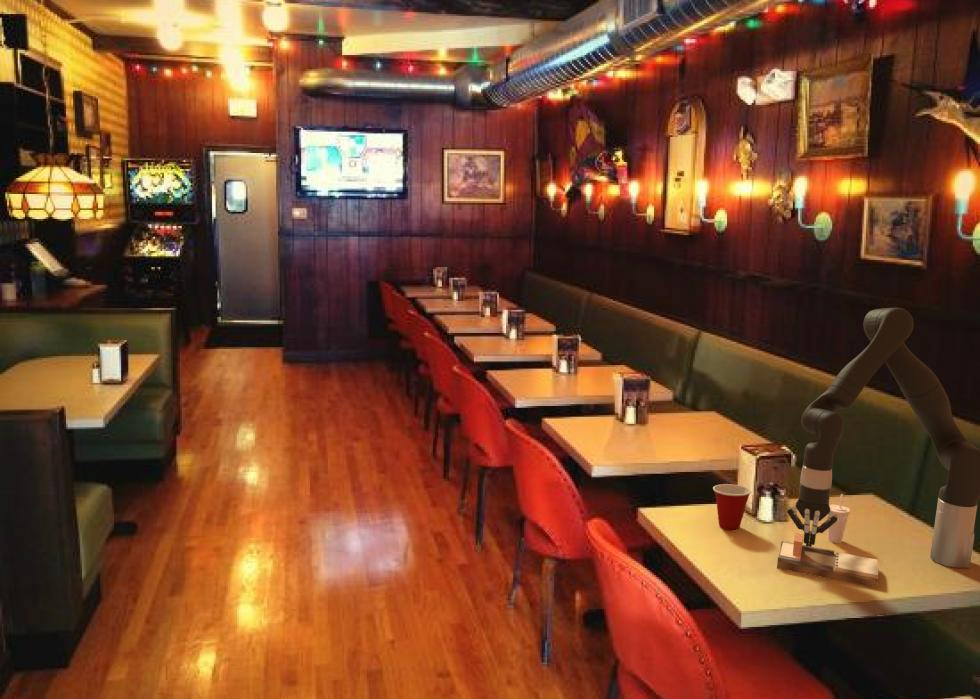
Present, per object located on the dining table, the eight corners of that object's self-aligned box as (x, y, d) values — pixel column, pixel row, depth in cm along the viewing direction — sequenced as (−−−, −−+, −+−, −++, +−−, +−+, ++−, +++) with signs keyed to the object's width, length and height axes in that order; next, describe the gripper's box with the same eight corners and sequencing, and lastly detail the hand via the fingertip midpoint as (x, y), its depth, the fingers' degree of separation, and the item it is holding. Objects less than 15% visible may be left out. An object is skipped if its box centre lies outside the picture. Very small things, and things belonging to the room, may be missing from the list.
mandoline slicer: (875, 568, 219) (877, 557, 218) (876, 587, 208) (878, 576, 208) (780, 550, 228) (781, 540, 228) (776, 568, 217) (777, 557, 217)
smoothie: (843, 547, 232) (848, 499, 230) (819, 540, 236) (824, 494, 233) (849, 539, 237) (854, 493, 235) (826, 533, 241) (831, 488, 238)
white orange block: (801, 549, 224) (803, 532, 223) (799, 562, 216) (801, 544, 215) (782, 545, 226) (784, 528, 225) (779, 558, 218) (781, 540, 217)
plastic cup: (731, 517, 251) (735, 479, 249) (755, 531, 241) (759, 492, 239) (702, 521, 247) (705, 483, 245) (725, 536, 237) (728, 496, 235)
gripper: (843, 483, 216) (835, 545, 220) (789, 474, 222) (783, 535, 225) (842, 492, 210) (835, 555, 213) (787, 483, 215) (781, 545, 218)
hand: (808, 545), depth 219 cm, fingers closed
